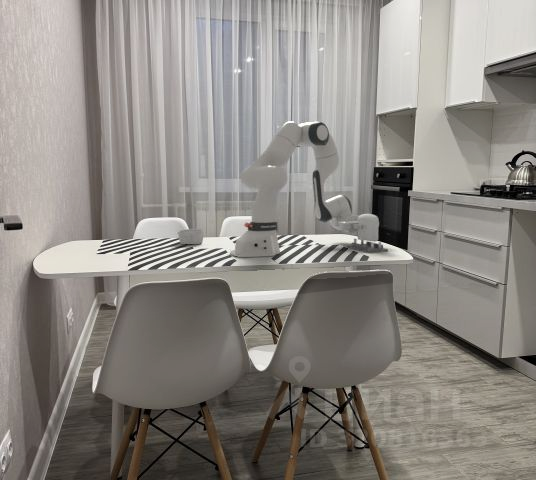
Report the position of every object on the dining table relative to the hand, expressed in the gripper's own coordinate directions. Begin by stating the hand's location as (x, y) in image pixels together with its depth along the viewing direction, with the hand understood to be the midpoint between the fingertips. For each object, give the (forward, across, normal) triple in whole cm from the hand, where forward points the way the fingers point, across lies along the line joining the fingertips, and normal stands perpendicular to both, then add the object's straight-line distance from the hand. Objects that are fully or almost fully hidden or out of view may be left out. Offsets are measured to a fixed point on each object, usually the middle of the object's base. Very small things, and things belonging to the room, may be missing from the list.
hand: (367, 226), depth 218 cm
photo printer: (0, 0, +7) cm, 7 cm away
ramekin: (-53, -71, +11) cm, 89 cm away
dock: (0, 0, +10) cm, 11 cm away
